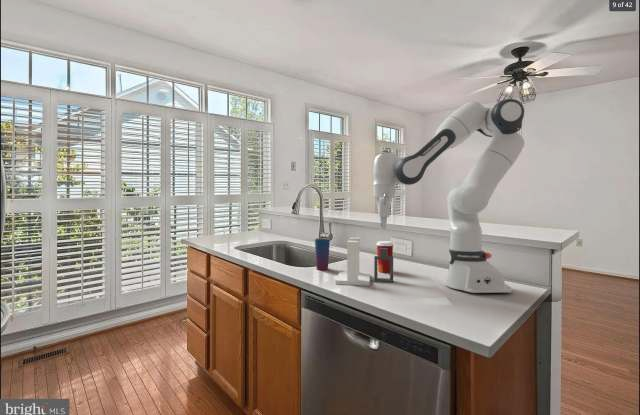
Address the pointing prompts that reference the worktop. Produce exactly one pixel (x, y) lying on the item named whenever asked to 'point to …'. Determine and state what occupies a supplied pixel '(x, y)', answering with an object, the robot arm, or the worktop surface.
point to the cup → (322, 253)
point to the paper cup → (385, 264)
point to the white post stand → (353, 267)
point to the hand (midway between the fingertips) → (383, 227)
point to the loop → (383, 257)
